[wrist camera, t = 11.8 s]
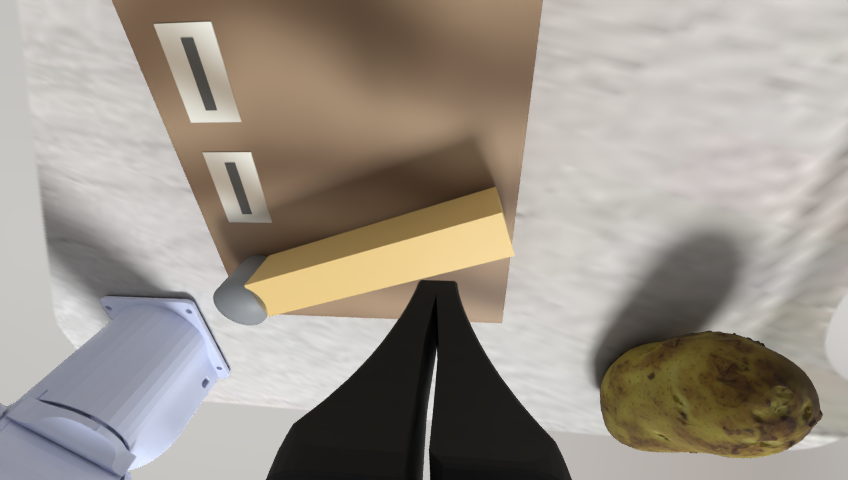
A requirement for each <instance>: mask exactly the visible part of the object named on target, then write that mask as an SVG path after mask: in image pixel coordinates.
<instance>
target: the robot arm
mask: <svg viewBox="0 0 848 480" xmlns="http://www.w3.org/2000/svg"><path fill="white" fill-rule="evenodd" d="M100 304H101V305H102V306H103V308H104V309H105V311H106V312H107V313H108V315H109V316H110V318H111V319H112V321H111V322H110V323H108V324H107V325H106V326H105V327H104V328H103V329H101V330H100V331H99V332H98V333H97V334H95V335H94V336H93V337H92V338H91V339H90V340H88V341H87V342H86V343H85V344H84V345H82V346H81V347H80V348H79V349H78V350H77V351H75V352H74V353H73V354H72V355H71V356H69V357H68V358H67V359H66V360H65V361H64V362H62V363H61V364H60V365H59V366H58V367H56V368H55V369H54V370H53V371H52V372H51V373H49V374H48V375H47V376H46V377H45V378H44V379H42V380H41V381H40V382H39V383H38V384H36V385H35V386H34V387H33V388H32V389H31V390H29V391H28V392H27V393H26V394H25V395H23V396H22V397H21V398H20V399H19V400H18V401H16V402H15V403H13V404H11V405H9V406H7V407H6V406H4V405H2V404H1V403H0V480H132V476H131V474H130V473H129V472H127V471H128V470H132V469H136V468H139V467H141V466H143V465H145V464H147V463H149V462H151V461H152V460H154V459H155V458H157V457H158V456H160V455H161V454H162V453H163V452H165V451H166V450H167V449H168V448H169V447H170V446H171V445H172V444H173V443H174V442H175V440H176V439H177V438H178V437H179V435H180V434H181V432H182V431H183V429H184V428H185V427H186V425H187V424H188V422H189V421H190V419H191V418H192V416H193V415H194V414H195V412H196V411H197V409H198V408H199V406H200V405H201V403H202V402H203V400H204V399H205V397H206V396H207V394H208V393H209V392H210V390H211V389H212V387H213V386H214V384H215V383H216V381H217V380H218V378H228V377H229V375H230V374H231V373H230V371H229V369H228V367H227V365H226V363H225V361H224V359H223V357H222V355H221V353H220V351H219V349H218V348H217V346H216V344H215V342H214V340H213V338H212V336H211V334H210V332H209V330H208V328H207V326H206V324H205V322H204V320H203V319H202V317H201V315H200V313H199V311H198V309H197V307H196V305H195V303H194V302H193V301H192V300H189V299H171V298H143V297H116V296H104V297H103V298H101V299H100ZM436 350H437V358H438V360H437V372H436V384H435V395H434V406H433V417H432V427H431V436H430V446H429V460H430V480H572V479H571V477H570V474H569V471H568V468H567V466H566V463H565V461H564V459H563V456H562V454H561V452H560V450H559V448H558V446H557V444H556V442H555V441H554V440H553V439H552V438H551V437H550V435H548V433H547V432H546V431H545V430H544V429H543V428H542V427H541V426H540V425H539V424H538V423H537V421H536V420H535V419H534V418H533V417H532V416H531V415H530V414H529V412H528V411H527V410H526V409H525V408H524V406H523V405H522V404H521V403H520V402H519V400H518V399H517V398H516V396H515V395H514V394H513V393H512V391H511V390H510V389H509V387H508V386H507V385H506V383H505V382H504V381H503V379H502V378H501V377H500V375H499V374H498V372H497V371H496V369H495V368H494V366H493V365H492V363H491V361H490V360H489V358H488V357H487V355H486V353H485V351H484V350H483V348H482V346H481V344H480V343H479V341H478V339H477V337H476V335H475V333H474V331H473V329H472V327H471V324H470V322H469V320H468V317H467V315H466V313H465V310H464V307H463V305H462V302H461V299H460V295H459V291H458V284H457V283H456V282H455V281H441V280H421V281H419V282H418V285H417V287H416V289H415V292H414V294H413V296H412V298H411V299H410V301H409V303H408V305H407V306H406V308H405V310H404V311H403V313H402V315H401V316H400V318H399V319H398V321H397V322H396V324H395V325H394V327H393V328H392V329H391V331H390V332H389V334H388V335H387V336H386V338H385V339H384V340H383V342H382V343H381V344H380V345H379V347H378V348H377V349H376V350H375V351H374V352H373V354H372V355H371V356H370V357H369V358H368V359H367V360H366V361H365V362H364V363H363V365H362V366H361V367H360V368H359V369H358V370H357V371H356V372H355V373H354V374H353V375H352V376H351V377H350V378H349V379H348V380H347V381H345V382H344V383H343V384H342V385H341V386H340V387H339V388H338V389H336V390H335V391H334V392H333V393H332V394H331V395H330V396H329V397H327V398H326V399H325V400H324V401H323V402H321V403H320V404H319V405H318V406H316V407H315V408H314V409H312V410H311V411H310V412H309V413H307V414H306V415H305V416H303V417H302V418H301V419H299V420H298V421H297V422H296V423H294V424H293V425H292V427H291V429H290V430H289V432H288V434H287V435H286V437H285V439H284V441H283V443H282V445H281V447H280V448H279V450H278V452H277V455H276V457H275V459H274V462H273V464H272V466H271V469H270V471H269V474H268V476H267V479H266V480H423V465H424V449H425V448H424V447H425V434H426V419H427V409H428V401H429V394H430V388H431V382H432V375H433V369H434V363H435V356H436Z"/></svg>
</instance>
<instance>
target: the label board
mask: <svg viewBox="0 0 848 480" xmlns="http://www.w3.org/2000/svg"><path fill="white" fill-rule="evenodd" d="M112 2H113V4H114V6H115V9H116V11H117V14H118V16H119V18H120V21H121V23H122V25H123V28H124V30H125V33H126V35H127V37H128V40H129V42H130V44H131V47H132V49H133V51H134V54H135V56H136V59H137V61H138V63H139V66H140V68H141V70H142V73H143V75H144V77H145V80H146V82H147V85H148V87H149V89H150V92H151V94H152V96H153V99H154V101H155V103H156V106H157V108H158V111H159V113H160V115H161V118H162V120H163V122H164V125H165V127H166V130H167V132H168V134H169V137H170V139H171V141H172V144H173V146H174V148H175V151H176V153H177V156H178V158H179V160H180V163H181V165H182V167H183V170H184V172H185V174H186V177H187V179H188V182H189V184H190V186H191V189H192V191H193V193H194V196H195V198H196V201H197V203H198V205H199V208H200V210H201V212H202V215H203V217H204V219H205V222H206V224H207V227H208V229H209V231H210V234H211V236H212V238H213V241H214V243H215V245H216V248H217V250H218V253H219V255H220V257H221V260H222V262H223V264H224V267H225V269H226V271H227V274H228V276H230V275H231V274H232V273H233V271H234V270H235V269H236V268H237V267H238V266H239V265H240V264H241V263H242V262H243V261H244V260H245V259H246V258H247V257H249V256H253V255H262V256H266V257H268V256H269V255H273V254H276V253H279V252H283V251H286V250H289V249H292V248H296V247H299V246H302V245H306V244H309V243H312V242H315V241H319V240H322V239H325V238H329V237H332V236H335V235H338V234H342V233H345V232H348V231H352V230H355V229H358V228H361V227H365V226H368V225H371V224H375V223H378V222H381V221H384V220H388V219H391V218H394V217H398V216H401V215H404V214H407V213H411V212H414V211H417V210H420V209H424V208H427V207H430V206H434V205H437V204H440V203H443V202H447V201H450V200H453V199H457V198H460V197H463V196H466V195H470V194H473V193H476V192H480V191H483V190H486V189H489V188H493V187H496V189H497V192H498V196H499V199H500V203H501V206H502V209H503V213H504V216H505V220H506V223H507V227H508V231H509V235H510V239H511V243H512V239H513V231H514V224H515V216H516V208H517V200H518V192H519V184H520V176H521V168H522V160H523V153H524V145H525V137H526V129H527V121H528V113H529V105H530V97H531V89H532V81H533V74H534V66H535V58H536V50H537V42H538V34H539V26H540V18H541V10H542V3H543V0H112ZM509 263H510V257H507V258H503V259H499V260H495V261H491V262H487V263H483V264H479V265H475V266H471V267H467V268H463V269H459V270H455V271H451V272H447V273H443V274H439V275H435V276H431V277H427V278H423V279H419V280H415V281H411V282H407V283H403V284H399V285H394V286H390V287H386V288H382V289H378V290H374V291H370V292H366V293H362V294H358V295H354V296H350V297H346V298H342V299H338V300H334V301H330V302H326V303H322V304H318V305H314V306H310V307H306V308H302V309H298V310H294V311H290V312H286V313H282V314H284V315H310V316H335V317H360V318H385V319H399V318H400V316H401V315H402V313H403V311H404V310H405V308H406V306H407V305H408V303H409V301H410V299H411V298H412V296H413V294H414V292H415V289H416V287H417V285H418V282H419V281H421V280H441V281H455V282H456V283H457V284H458V291H459V295H460V299H461V302H462V305H463V307H464V310H465V313H466V315H467V317H468V320H469V322H485V323H502V318H503V310H504V302H505V295H506V287H507V279H508V271H509Z"/></svg>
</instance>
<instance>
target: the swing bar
mask: <svg viewBox="0 0 848 480" xmlns="http://www.w3.org/2000/svg"><path fill="white" fill-rule="evenodd" d="M511 256H515V255H514V251H513V247H512V243H511V239H510V235H509V231H508V227H507V223H506V220H505V216H504V213H503V209H502V206H501V203H500V199H499V196H498V192H497V189H496V187H493V188H489V189H486V190H483V191H480V192H476V193H473V194H470V195H466V196H463V197H460V198H457V199H453V200H450V201H447V202H443V203H440V204H437V205H434V206H430V207H427V208H424V209H420V210H417V211H414V212H411V213H407V214H404V215H401V216H398V217H394V218H391V219H388V220H384V221H381V222H378V223H375V224H371V225H368V226H365V227H361V228H358V229H355V230H352V231H348V232H345V233H342V234H338V235H335V236H332V237H329V238H325V239H322V240H319V241H315V242H312V243H309V244H306V245H302V246H299V247H296V248H292V249H289V250H286V251H283V252H279V253H276V254H273V255H269V256H268V257H266V256H262V255H253V256H249V257H247V258H246V259H245V260H244V261H243V262H242V263H241V264H240V265H239V266H238V267H237V268H236V269H235V270H234V271H233V273H232V274H231V275H230V276H229V277H228V278H227V279H226V280H225V281H224V282H223V283H222V284H221V286H220V287H219V288H218V289H217V290H216V291H215V293H214V296H213V299H214V303H215V306H216V307H217V309H218V310H219V311H220V312H221V313H222V314H223V315H224V316H225V317H227V318H228V319H230V320H232V321H234V322H236V323H239V324H243V325H257V324H259V323H261V322H263V321H264V320H265V319H266V317H267V316H269V317H270V316H274V315H278V314H282V313H286V312H290V311H294V310H298V309H302V308H306V307H310V306H314V305H318V304H322V303H326V302H330V301H334V300H338V299H342V298H346V297H350V296H354V295H358V294H362V293H366V292H370V291H374V290H378V289H382V288H386V287H390V286H394V285H399V284H403V283H407V282H411V281H415V280H419V279H423V278H427V277H431V276H435V275H439V274H443V273H447V272H451V271H455V270H459V269H463V268H467V267H471V266H475V265H479V264H483V263H487V262H491V261H495V260H499V259H503V258H507V257H511Z"/></svg>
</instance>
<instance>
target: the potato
mask: <svg viewBox="0 0 848 480" xmlns="http://www.w3.org/2000/svg"><path fill="white" fill-rule="evenodd" d="M600 404H601V411H602V415H603V419H604V422H605V426H606V428H607V429H608V431H609V432H610V434H611V435H612V436H613V437H614V438H615V439H617V440H618V441H619V442H621V443H622V444H625V445H627V446H629V447H632V448H635V449H638V450H642V451H650V452H690V453H710V454H715V455H720V456H725V457H732V458H755V457H763V456H768V455H772V454H776V453H779V452H782V451H784V450H787V449H788V448H790V447H792V446H793V445H795V444H797V443H798V442H800V441H801V440H803V439H804V437H805V436H806V435H807V434H809V432H810V431H811V429H812V428H813V427H814V426H815V425H816V424H817V422H818V421H819V420H821V418H822V416H823V414H822V412H821V410H820V404H819V398H818V394H817V391H816V389H815V387H814V385H813V384H812V382H811V380H810V379H809V377H808V376H807V375H806V373H805V372H804V371H803V370H802V369H801V368H799V367H798V366H797V365H796V364H794V363H793V362H792V361H790V360H789V359H787V358H786V357H784V356H782V355H781V354H779V353H777V352H774V351H772V350H770V349H768V348H766V347H765V345H764V344H763V343H760V342H759V341H753V340H752V339H751V338H748V337H747V338H745V337H742V336H739V335H736V334H735V333H733V334H728V333H723V332H712V331H705V332H701V333H692V334H686V335H682V336H677V337H673V338H671V339H669V340H667V341H662V342H653V343H648V344H644V345H640V346H637V347H634V348H632V349H630V350H629V351H627V352H625V353H624V354H623V355H621V356H620V357H619V358H618V359H617V360H616V361H615V362H614V363H613V364H612V365H611V366H610V367H609V369H608V370H607V372H606V374H605V375H604V378H603V380H602V383H601V387H600Z"/></svg>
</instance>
